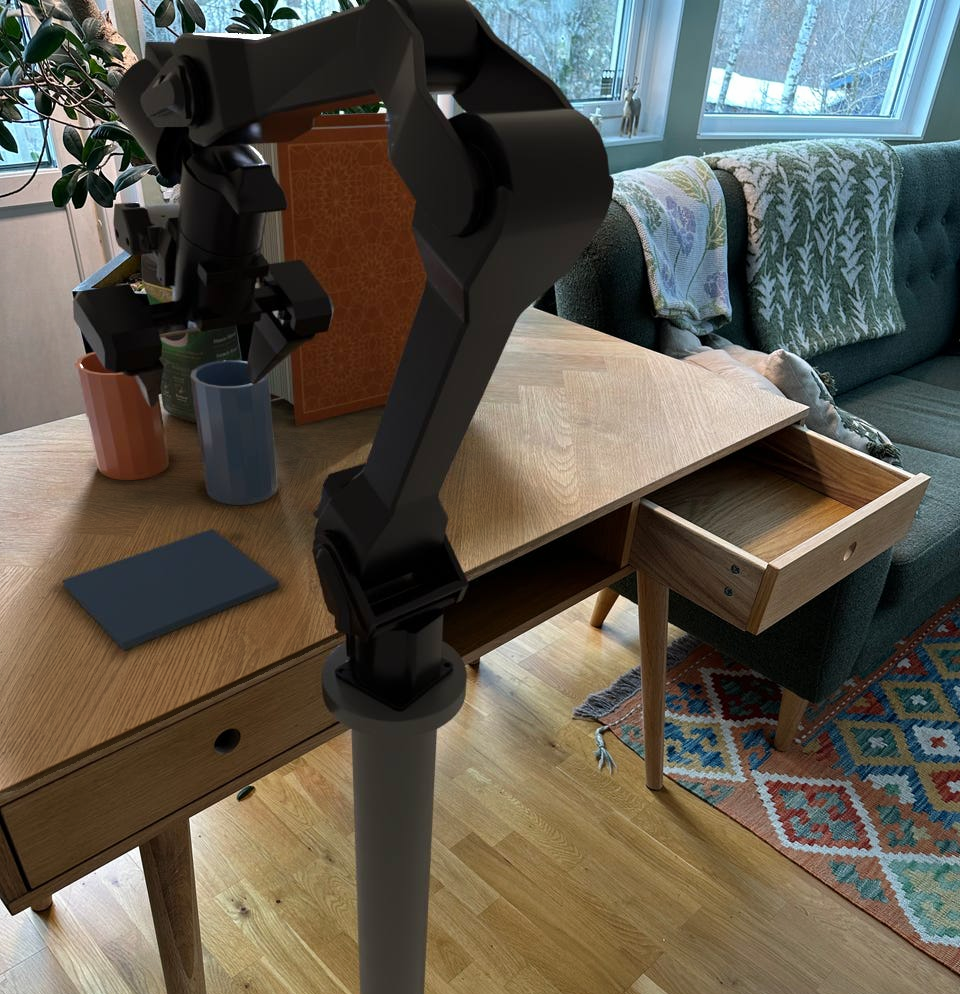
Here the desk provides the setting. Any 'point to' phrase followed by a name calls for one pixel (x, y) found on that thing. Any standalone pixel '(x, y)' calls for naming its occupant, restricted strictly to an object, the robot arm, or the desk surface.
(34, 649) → the desk surface
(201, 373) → the blue cup
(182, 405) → the coffee jar
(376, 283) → the book
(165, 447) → the terracotta cup
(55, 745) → the desk surface
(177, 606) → the blue mat
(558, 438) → the desk surface
